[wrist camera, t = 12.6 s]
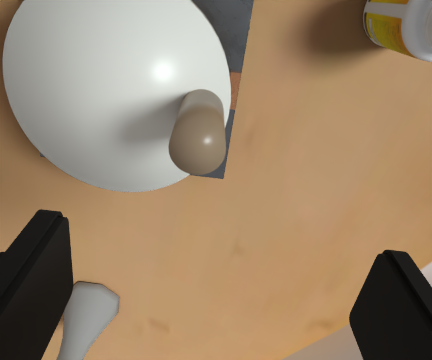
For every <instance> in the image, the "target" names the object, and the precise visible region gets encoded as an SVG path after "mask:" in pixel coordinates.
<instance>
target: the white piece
mask: <svg viewBox="0 0 432 360" xmlns="http://www.w3.org/2000/svg"><path fill="white" fill-rule="evenodd" d="M3 78H4V84H5V90H6V93H7V97H8V100H9V103H10V106H11V108H12V111H13V113H14V115H15V118H16V119H17V121H18V123H19V125H20V126H21V128H22V130H23V131H24V133H25V134H26V136H27V137H28V138H29V140H30V141H31V142H32V144H33V145H34V146H35V147H36V148H37V149H38V150H39V151H40V152H41V153H42V154H43V155H44V156H45V157H46V158H47V159H48V160H49V161H50V162H51V163H53V164H54V165H56V166H57V167H58V168H60V169H61V170H62V171H64V172H66V173H67V174H69V175H71V176H72V177H74V178H76V179H78V180H81V181H83V182H85V183H87V184H90V185H93V186H96V187H99V188H103V189H108V190H112V191H121V192H143V191H151V190H155V189H159V188H163V187H166V186H169V185H171V184H174V183H176V182H178V181H180V180H182V179H184V178H185V177H187V176H188V175H190V174H192V175H204V174H207V173H210V172H212V171H214V170H215V169H217V168H218V167H219V166H220V165H221V163H222V162H223V160H224V158H225V154H226V140H225V127H226V123H227V120H228V116H229V110H230V103H231V85H230V76H229V69H228V64H227V60H226V56H225V52H224V50H223V47H222V44H221V42H220V39H219V37H218V35H217V34H216V32H215V30H214V28H213V26H212V24H211V23H210V22H209V20H208V19H207V17H206V16H205V15H204V13H203V12H202V11H201V10H200V9H199V8H198V7H197V5H196V4H195V3H194V2H193V1H192V0H24V1H23V2H22V4H21V5H20V7H19V8H18V10H17V12H16V13H15V15H14V17H13V19H12V21H11V24H10V26H9V28H8V32H7V35H6V39H5V43H4V50H3Z"/></svg>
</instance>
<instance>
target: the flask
mask: <svg viewBox="0 0 432 360" xmlns="http://www.w3.org/2000/svg"><path fill="white" fill-rule="evenodd" d="M119 298H120V297H119V296H118V295H116V294H115V293H113V292H112V291H110V290H109V289H108V288H106V287H105V286H103V285H101V284H93V283H86V282H78V283H76V284H75V285H74V286H73V291H72V295H71V297H70V299H69V301H68V304H67V306H66V308H65V310H64V324H63V338H62V343H61V347H60V351H59V355H58V357H57V359H56V360H83V359H84V357H85V355H86V353H87V352H88V350H89V348H90V346H91V345H92V344H93V343H94V341H95V340H96V339H97V338H98V336H99V335H100V334H101V333H102V331H103V330H104V329H105V328H106V326H107V325H108V324H109V323H110V322H111V321H112V319H113V318H114V317H115V316H116V315H117V313H118V310H119Z"/></svg>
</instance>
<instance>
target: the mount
mask: <svg viewBox="0 0 432 360" xmlns="http://www.w3.org/2000/svg"><path fill="white" fill-rule="evenodd" d="M192 1H193V2H194V3H195V4H196V5H197V7H198V8H199V9H200V10H201V11H202V12H203V13H204V15H205V16H206V17H207V19H208V20H209V22H210V23H211V24H212V26H213V28H214V30H215V32H216V34H217V35H218V37H219V39H220V42H221V44H222V47H223V50H224V52H225V56H226V60H227V64H228V69H229V76H230V85H231V103H230V110H229V116H228V120H227V123H226V127H225V140H226V154H225V158H224V160H223V162H222V163H221V165H220V166H219V167H218V168H217V169H215V170H214V171H212V172H210V173H207V174H204V175H195V176H203V177H211V178H219V179H223V178H224V172H225V166H226V161H227V155H228V149H229V143H230V137H231V131H232V125H233V119H234V113H235V108H236V102H237V96H238V90H239V84H240V79H241V72H242V66H243V60H244V54H245V49H246V43H247V37H248V31H249V25H250V19H251V13H252V7H253V1H254V0H192ZM40 156H41V157H45V156H44V155H43V154H42V153H41V152H40ZM190 175H192V174H190Z"/></svg>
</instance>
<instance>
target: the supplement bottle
mask: <svg viewBox="0 0 432 360" xmlns="http://www.w3.org/2000/svg"><path fill="white" fill-rule="evenodd" d="M363 25H364V29H365V32H366V34H367V36H368V37H369V38H370V39H371V40H372V41H373V42H374V43H375V44H377V45H379V46H382V47H385V48H388V49H391V50H394V51H397V52H399V53H402V54H405V55H408V56H411V57H414V58H417V59H420V60H424V61H428V62H432V0H367V3H366V5H365V8H364V13H363Z"/></svg>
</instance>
